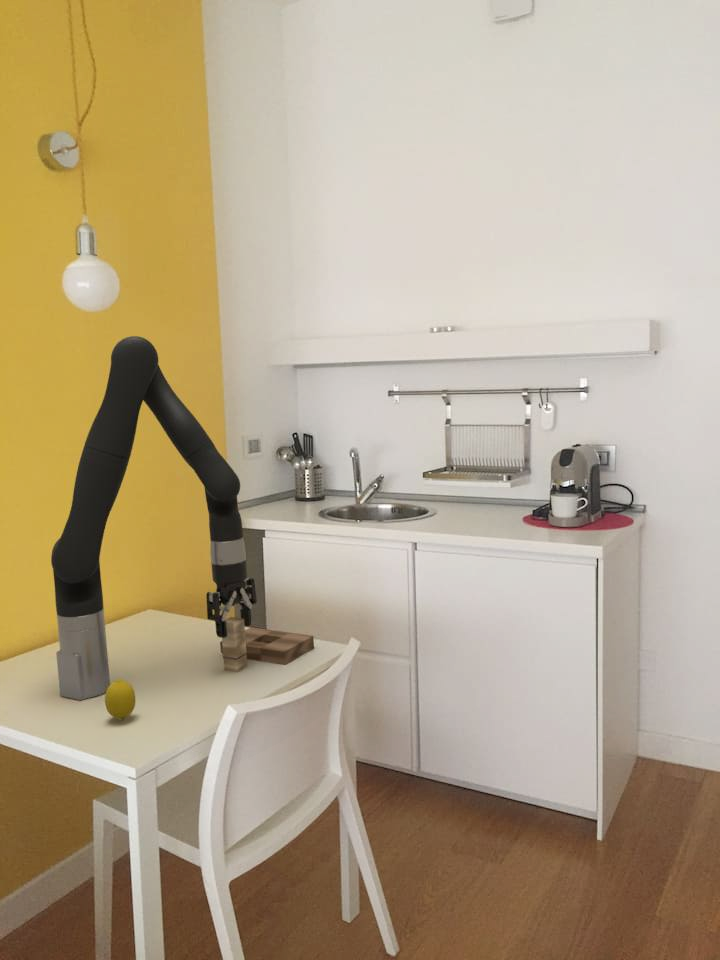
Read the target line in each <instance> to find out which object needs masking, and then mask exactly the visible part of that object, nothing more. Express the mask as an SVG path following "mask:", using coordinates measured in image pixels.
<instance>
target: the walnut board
mask: <svg viewBox="0 0 720 960" xmlns="http://www.w3.org/2000/svg"><path fill="white" fill-rule="evenodd" d="M245 640H246V653H247V660H253V661H260V662H264V663H271V664H277V665H282V666H285V665H287V664H289V663H291V662H293V661H294V660H296V659H298V658H300V657H301V656H303V655H305V654H306V653H308V652H310V651H312V650H314V649H315V642H314V641H315V639H314V635H310V634H303V633H294V632H288V631H280V630H273V629H268V628H266V629H265V628H257V627H253V626H251V627H249V628H247V629H245ZM219 642H220V643H219V644H220V654H221V653H222V654H223V646H222V640H221V641H219Z"/></svg>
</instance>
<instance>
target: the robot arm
mask: <svg viewBox="0 0 720 960" xmlns="http://www.w3.org/2000/svg"><path fill="white" fill-rule="evenodd" d="M110 354H111V355H110V368H109V374H108V380H107V384H106V387H105V392H104V396H103V399H102V401H101V405H100V407H99V408H98V411H97V413H96V415H95V418H94V420H93V422H92V424H91V427H90V429H89V432H88V434H87V437H86V439H85V442H84V446H83V449H82V452H81V455H80V459H79V462H78V466H77V471H76V476H75V481H74V487H73V494H72V500H71V507H70V511H69V515H68V518H67V521H66V523H65V526H64V528H63V530H62V532H61V536H60V537H59V538H58V539H57V540H56V541H55V543H54V545H53V547H52V551H51V557H50V558H51V559H50V561H51V562H50V563H51V567H52V572H53V581H54V584H53V585H54V600H55V609H56V611H55V612H56V619H57V631H58V639H59V642H58V643H59V650H57V651H56V663H57V664H56V665H57V675H58V676H57V677H58V683H59V685H58V686H59V696H61V697H63V698H64V697H65V698H69V699H74V700H78V701H82V700H85V699H88V698H92V697H93V698H94V697H97V696H100V695H103V694H106V691H107V689H108V687H109V686H110V685H111V677H110V667H109V654H108V641H107V631H106V620H105V610H104V609H105V608H104V597H103V587H102V574H101V565H100V564H101V563H100V558H101V557H100V556H101V552H102V551H101V550H102V545H103V539H104V534H105V530H106V526H107V522H108V519H109V516H110V513H111V511H112V509H113V506H114V504H115V502H116V499H117V497H118V494H119V492H120V489H121V486H122V484H123V483H122V482H123V481H124V478H125V475H126V472H127V468H128V465H129V462H130V458H131V455H132V450H133V446H134V442H135V437H136V432H137V426H138V421H139V415H140V410H141V409H142V404H143V402H144V403H145V404H146V406H147V407H148V408H149V410H150V411H151V412H152V414H153V415H154V417H155V418H156V420H157V421H158V423H159V425H160V426H161V428H162V429H163V431H164V433H165V434H166V436H167V437H168V439H169V440H170V442H171V443H172V444H173V446H174V447H175V448H176V450H177V451H178V453H179V454H180V456H181V457H182V458H183V460H184V461H185V463H187V465H188V466H189V467H190V468H191V469H192V470H193V471H194V473H195V474H196V476H197V477H198V479H199V481H200V483H202V485H203V487H204V494H205V501H206V507H207V511H208V527H209V539H210V543H209V544H210V546H209V547H210V548H209V550H210V551H209V552H210V554H209V555H210V563H211V575H212V582H214V583H215V585H216V589H215V591H213V592H212V591H207V592H206V612H207V613H206V616H207V620H209V621H210V620H211V621H214V622H215V633H216V636H217V637H218V638H221V639H222V638H225V637H227V627H226V620H225V619H227V616H228V614H229V612H230V611H231V610H232V607H234V606H235V605H237V604H238V605H239V608H240V610H239V611H240V618H242V619H244V625H245V627H250V626H251V625H252V611H251V610H252V608H253V605H256V604H257V602H258V600H257V594H256V593H257V592H256V584H255V579H254V577H253V578H252V577H248V567H247V555H246V554H247V553H246V546H245V545H246V544H245V541H244V533H243V531H244V530H243V522H242V517H241V514H240V512H239V505H238V495H239V493H240V490H241V481H240V479H239V476H238V474H237V473H236V472H235V470H234V469H233V468H232V467H231V465H230V464H229V463H228V462H227V461H226V459H225V458H224V457H223V456H222V455H221V453H220V452H219V451H218V449H217V447H216V446H215V444H214V442H213V440H212V439H211V438H210V436H209V435H208V433H207V432H206V430H205V429H204V428H203V426H202V425H201V423H200V422H199V421H198V420H197V418H196V417H195V416H194V415H193V413H192V412H191V411H190V409H188V407H187V406H186V405H185V404H184V403H183V401H182V400H181V399H180V398H179V397H178V395H177V394H176V393H175V391H174V390H173V388H172V387H171V386H170V384H169V382H168V381H167V378H166V377H165V375H164V374H163V372H162V369H161V368H160V364H159V354H158V350H157V349H156V347H155V346H154V345H153V343H152V342H151V341H150V340H148V339H147V338H144V337H143V336H137V335H131V336H127V337H124V338H123V339H121V340H120V341H118V342H117V343H116V344H115V345H114V347H113V349H112V351H111V353H110ZM213 611H214V612H213ZM213 613H214V614H213Z"/></svg>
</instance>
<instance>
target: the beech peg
mask: <svg viewBox="0 0 720 960" xmlns="http://www.w3.org/2000/svg"><path fill="white" fill-rule="evenodd" d="M225 620H226V627H227V637H225V638H221V641H222V646H223V655H222V658H223V671H229V672H232V673H233V672H234V673H239V672H240V671H243V670H244V669H246V668H248V661H247V660H248V659H247V653H246V640H245V630H246V629H245V628H246V626H245V625H244V619H242V618H241V617H233V616H230V617H228V618H226V619H225Z"/></svg>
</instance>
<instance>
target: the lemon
mask: <svg viewBox="0 0 720 960" xmlns="http://www.w3.org/2000/svg"><path fill="white" fill-rule="evenodd" d="M104 705H105V709H106V711H107V713H108V715H110V716H111V717H112V718H115V719H118V720H120V721H123V720H125V719H126V717H129V715H131V714H132V712H133V710H134V709H135V706H136V693H135V690H134V688H133V686H132V685H131V684H130V683H129V682H127V681H125V680H122V679H120V678H119V679H116V680H115V681H113V682H112V683H110V686H109V687H108V689H107V691H106V692H105V697H104Z"/></svg>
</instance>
